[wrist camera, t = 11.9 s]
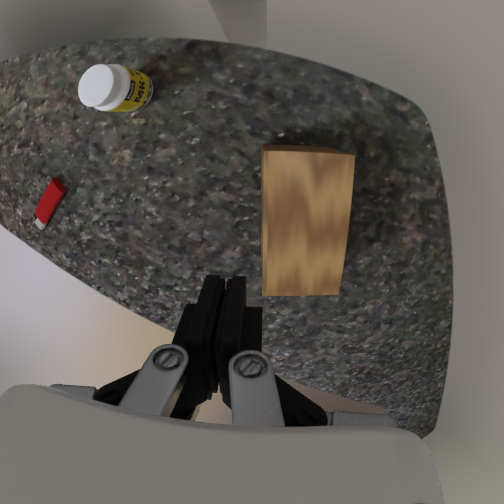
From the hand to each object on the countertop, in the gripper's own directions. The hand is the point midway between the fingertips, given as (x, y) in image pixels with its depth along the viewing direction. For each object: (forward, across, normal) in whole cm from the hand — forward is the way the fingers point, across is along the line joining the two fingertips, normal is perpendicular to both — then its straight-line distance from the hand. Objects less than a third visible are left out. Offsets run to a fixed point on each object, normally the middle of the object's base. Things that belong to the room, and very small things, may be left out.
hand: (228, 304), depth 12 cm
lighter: (+20, +28, +1) cm, 35 cm away
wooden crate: (+16, -1, +1) cm, 16 cm away
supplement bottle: (+20, +13, -12) cm, 27 cm away
